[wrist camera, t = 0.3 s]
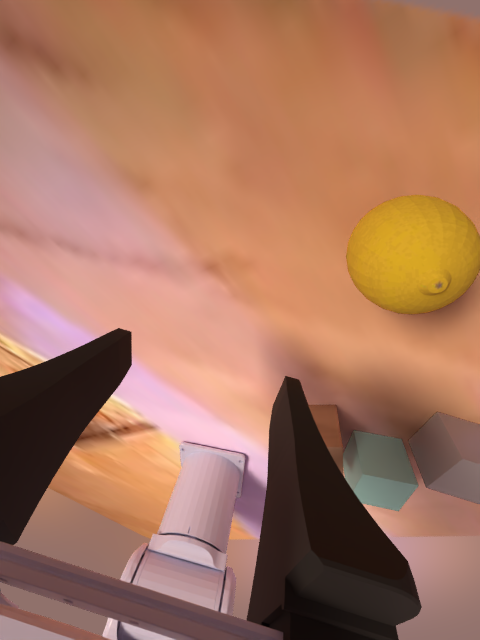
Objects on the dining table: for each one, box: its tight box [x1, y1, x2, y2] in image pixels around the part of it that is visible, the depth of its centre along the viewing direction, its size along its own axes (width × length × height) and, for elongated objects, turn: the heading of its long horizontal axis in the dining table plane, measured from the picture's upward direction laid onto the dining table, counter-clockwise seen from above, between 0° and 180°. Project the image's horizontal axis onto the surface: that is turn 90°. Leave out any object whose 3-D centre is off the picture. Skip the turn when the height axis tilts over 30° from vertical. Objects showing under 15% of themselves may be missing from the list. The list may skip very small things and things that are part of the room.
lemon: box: [346, 195, 480, 314], centre depth 14 cm, size 6×6×8 cm
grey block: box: [408, 412, 480, 504], centre depth 23 cm, size 4×4×4 cm
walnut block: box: [308, 405, 343, 474], centre depth 25 cm, size 4×4×4 cm
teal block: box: [343, 430, 419, 511], centre depth 26 cm, size 4×4×4 cm
